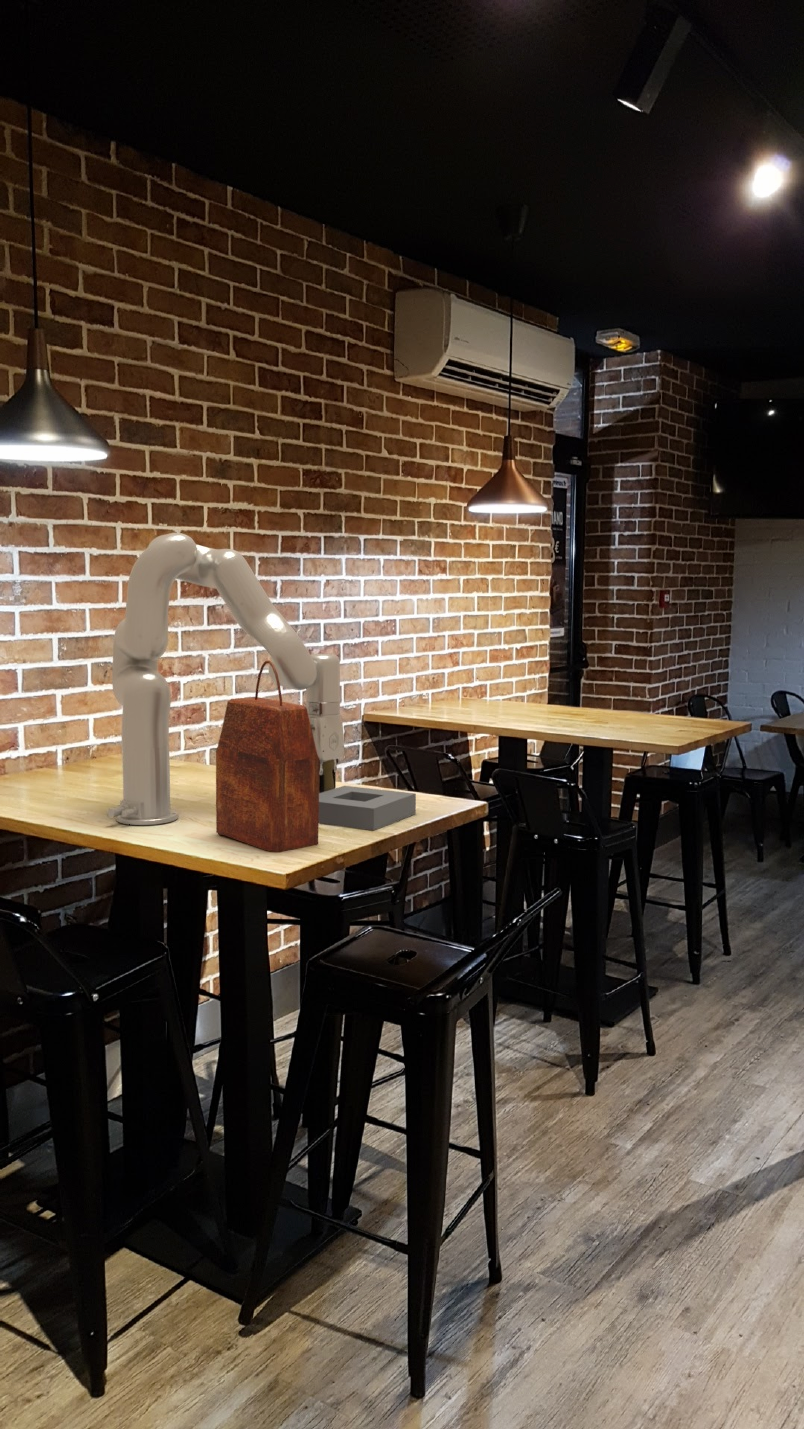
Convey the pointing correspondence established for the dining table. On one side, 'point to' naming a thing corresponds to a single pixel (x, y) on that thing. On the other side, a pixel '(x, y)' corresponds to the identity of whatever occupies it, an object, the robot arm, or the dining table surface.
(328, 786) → the cork
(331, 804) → the well block
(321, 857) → the dining table surface
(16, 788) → the dining table surface
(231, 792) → the handbag
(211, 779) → the dining table surface
